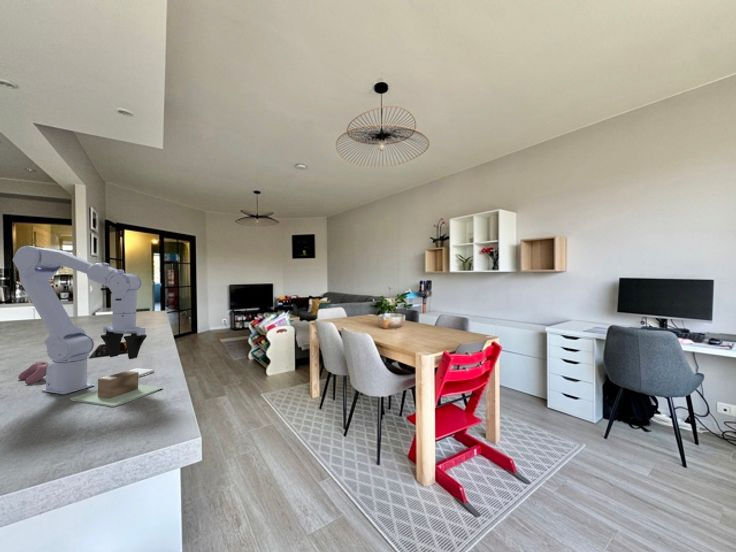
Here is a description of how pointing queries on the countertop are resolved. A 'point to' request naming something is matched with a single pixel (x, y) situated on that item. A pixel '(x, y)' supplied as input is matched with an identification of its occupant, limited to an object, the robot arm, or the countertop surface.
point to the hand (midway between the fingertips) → (123, 357)
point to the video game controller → (34, 372)
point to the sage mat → (117, 400)
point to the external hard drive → (142, 371)
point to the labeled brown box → (117, 384)
